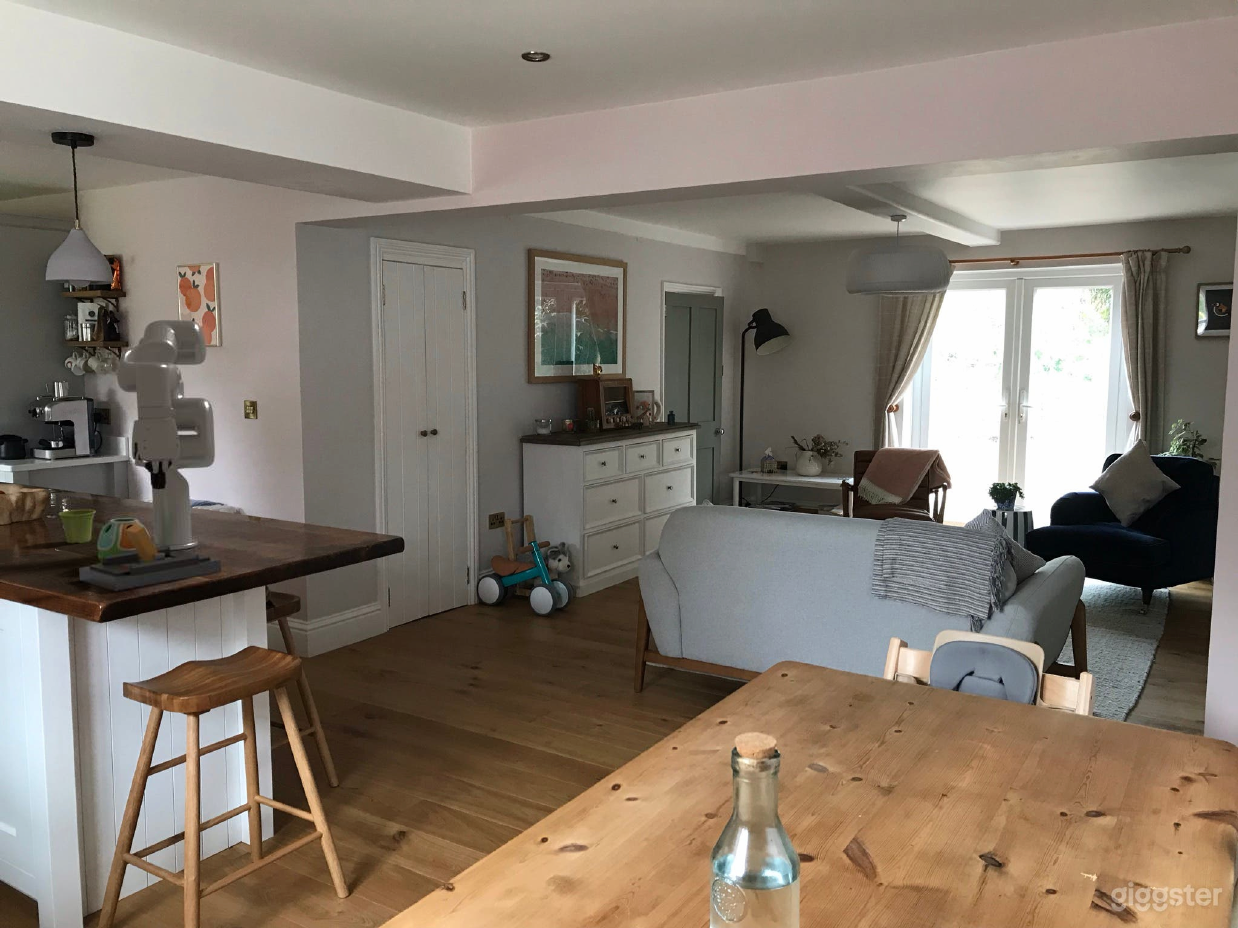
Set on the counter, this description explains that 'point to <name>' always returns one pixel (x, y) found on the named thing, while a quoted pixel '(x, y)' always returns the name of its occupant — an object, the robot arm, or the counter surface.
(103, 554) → the turtle holder
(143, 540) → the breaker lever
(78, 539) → the plant pot
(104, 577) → the grey base plate
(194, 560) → the stepped grey platform
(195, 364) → the robot arm
